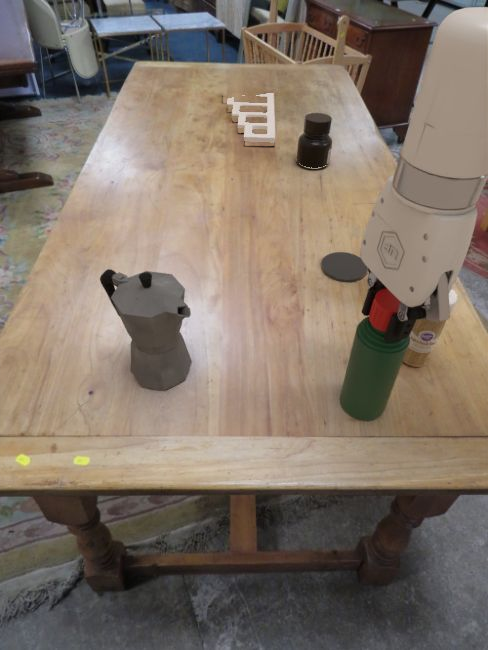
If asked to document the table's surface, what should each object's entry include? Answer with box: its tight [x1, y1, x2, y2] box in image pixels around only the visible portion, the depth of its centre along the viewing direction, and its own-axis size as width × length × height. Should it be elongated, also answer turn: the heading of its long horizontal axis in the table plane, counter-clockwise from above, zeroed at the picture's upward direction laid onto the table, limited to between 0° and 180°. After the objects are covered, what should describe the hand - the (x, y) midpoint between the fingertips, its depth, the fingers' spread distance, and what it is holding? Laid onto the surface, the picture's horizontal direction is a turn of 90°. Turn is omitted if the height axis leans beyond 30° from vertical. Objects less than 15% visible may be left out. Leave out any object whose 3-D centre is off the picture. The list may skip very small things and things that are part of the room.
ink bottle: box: [295, 112, 333, 168], centre depth 114 cm, size 10×9×12 cm
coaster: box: [320, 251, 368, 283], centre depth 85 cm, size 9×9×1 cm
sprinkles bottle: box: [402, 288, 459, 368], centre depth 64 cm, size 5×5×13 cm
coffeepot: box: [99, 268, 193, 391], centre depth 61 cm, size 15×9×18 cm, turn 57°
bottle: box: [339, 316, 410, 422], centre depth 56 cm, size 6×6×19 cm
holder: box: [226, 92, 276, 143], centre depth 141 cm, size 45×18×3 cm, turn 178°
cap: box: [369, 288, 400, 332], centre depth 50 cm, size 4×4×3 cm
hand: (384, 323), depth 52 cm, fingers closed on cap, 3 cm apart
